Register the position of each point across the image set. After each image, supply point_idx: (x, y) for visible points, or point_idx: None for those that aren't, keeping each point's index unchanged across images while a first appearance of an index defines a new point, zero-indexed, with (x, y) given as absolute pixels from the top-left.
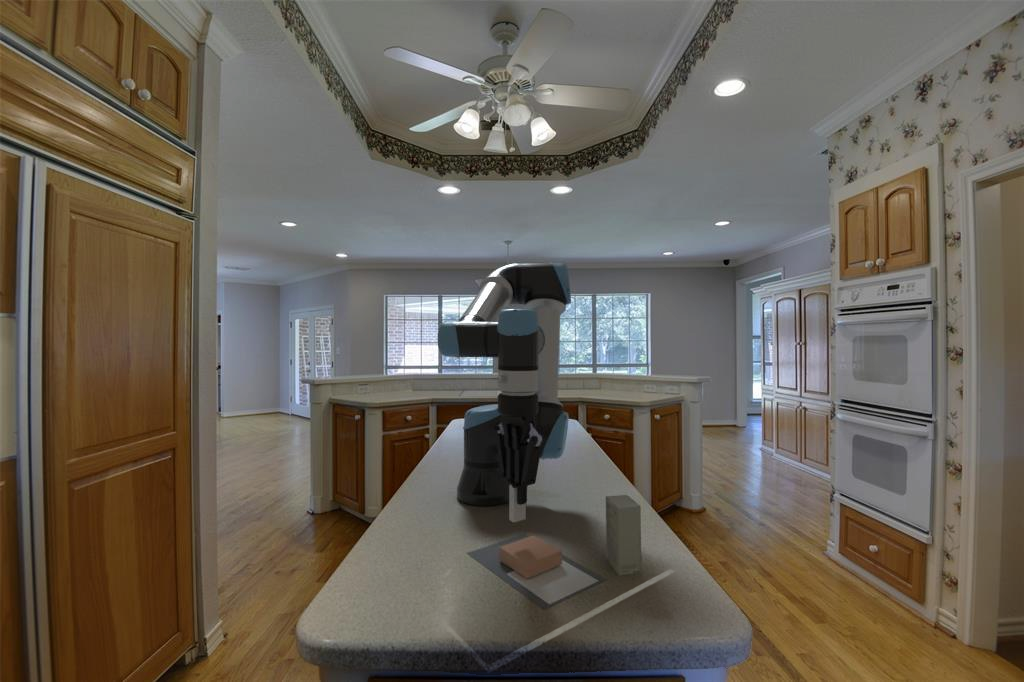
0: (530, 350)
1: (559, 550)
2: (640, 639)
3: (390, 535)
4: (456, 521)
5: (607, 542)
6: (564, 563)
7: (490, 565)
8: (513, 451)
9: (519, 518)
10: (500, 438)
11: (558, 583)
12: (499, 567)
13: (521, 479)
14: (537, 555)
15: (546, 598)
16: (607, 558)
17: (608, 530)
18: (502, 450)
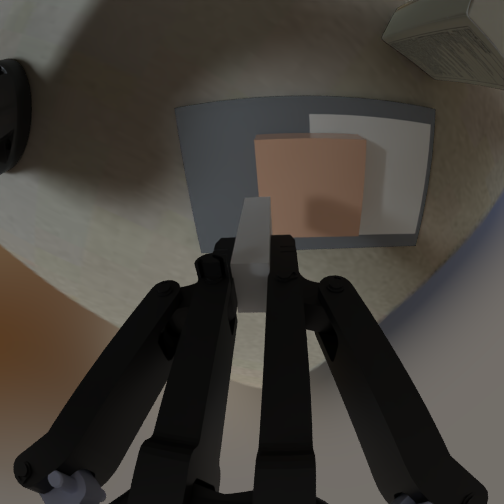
0: None
1: (362, 144)
2: (501, 189)
3: (100, 301)
4: (69, 205)
5: (408, 40)
6: (352, 122)
7: None
8: (216, 437)
9: (271, 222)
10: (113, 470)
11: (393, 184)
12: None
13: (318, 340)
14: (347, 198)
15: (404, 228)
16: (391, 42)
17: (432, 42)
18: (139, 419)
